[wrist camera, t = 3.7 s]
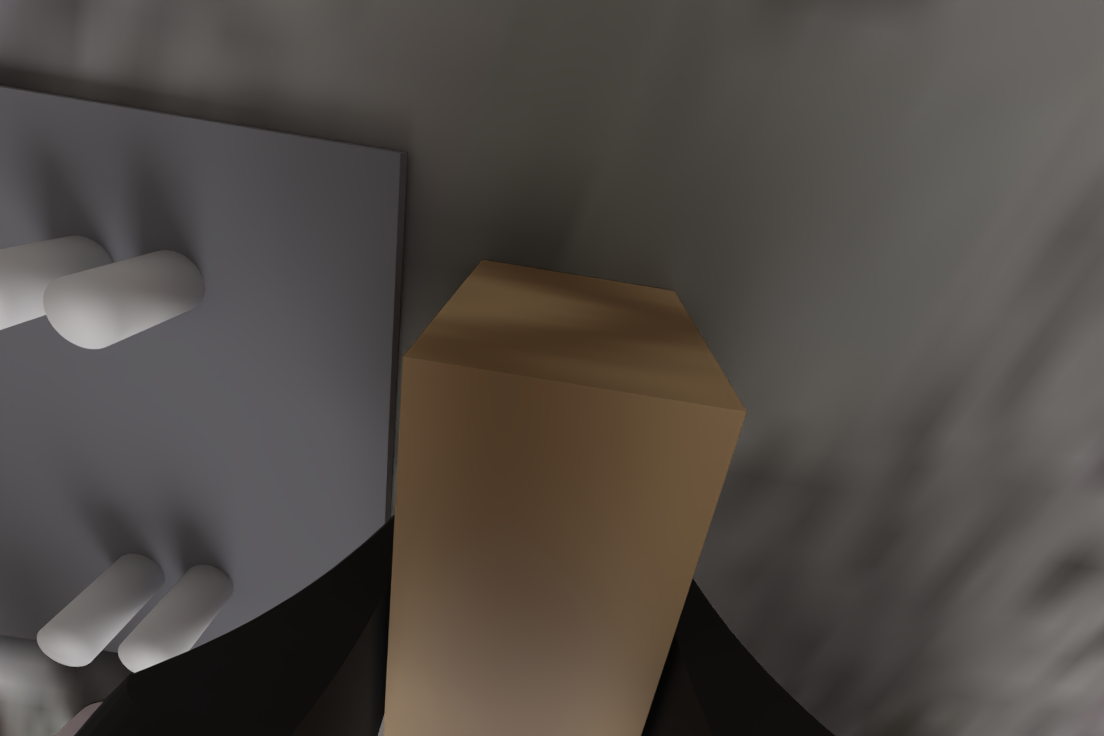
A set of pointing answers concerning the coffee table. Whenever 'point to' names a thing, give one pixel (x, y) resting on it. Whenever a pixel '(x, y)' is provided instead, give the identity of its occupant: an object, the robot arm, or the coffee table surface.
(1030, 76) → the coffee table surface
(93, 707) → the smoothie
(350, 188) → the peg base
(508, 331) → the oak block
